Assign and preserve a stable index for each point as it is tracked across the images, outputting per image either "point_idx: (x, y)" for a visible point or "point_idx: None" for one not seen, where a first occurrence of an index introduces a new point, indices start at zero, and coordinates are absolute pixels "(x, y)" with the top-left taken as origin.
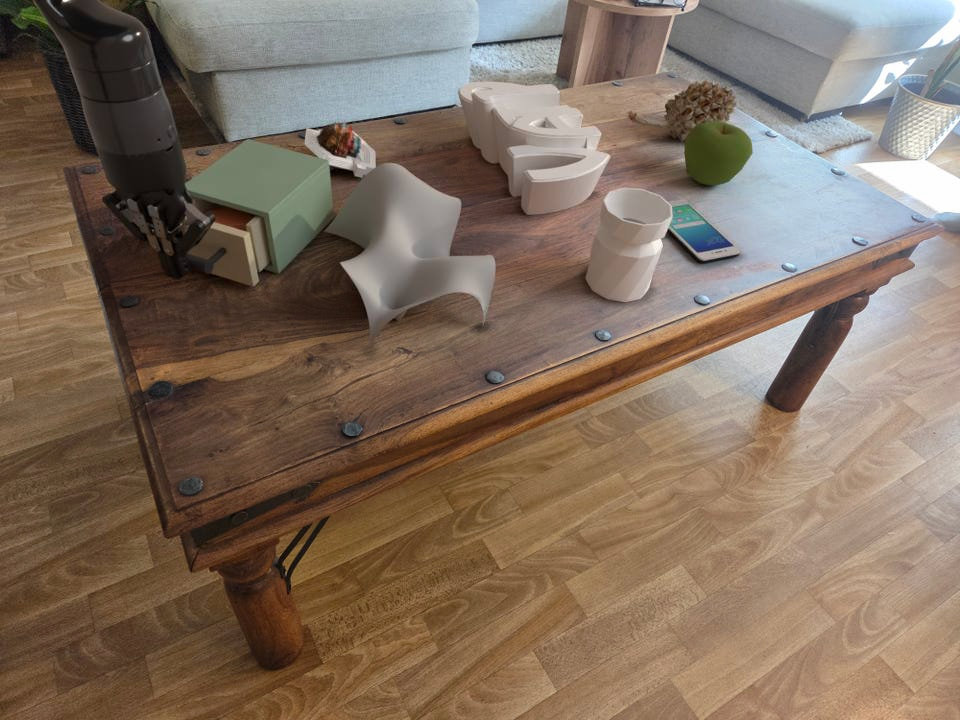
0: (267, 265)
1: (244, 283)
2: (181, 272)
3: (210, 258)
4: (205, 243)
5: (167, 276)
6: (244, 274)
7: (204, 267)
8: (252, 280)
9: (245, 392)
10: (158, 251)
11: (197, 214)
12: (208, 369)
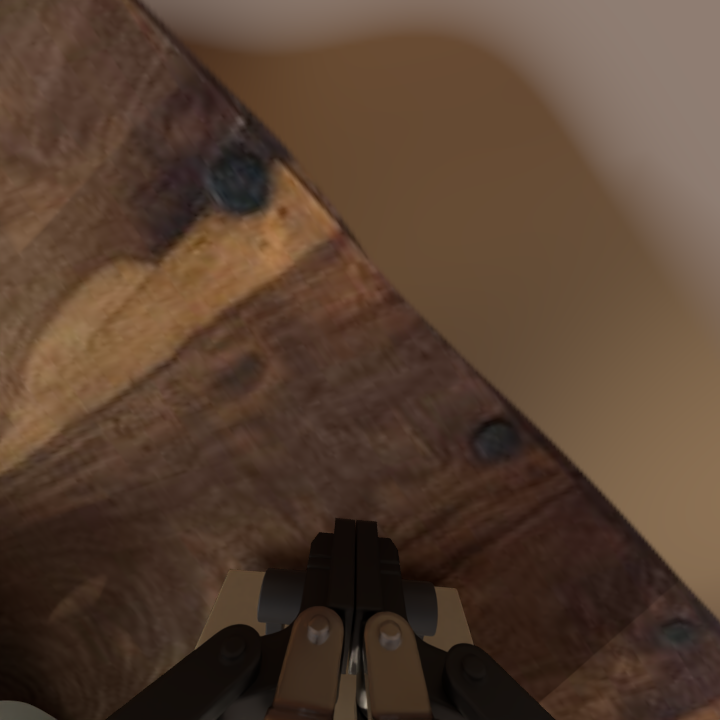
0: None
1: (254, 572)
2: (315, 546)
3: (277, 630)
4: (342, 681)
5: (373, 522)
6: (238, 598)
7: (261, 589)
8: (222, 585)
9: (40, 243)
10: (377, 614)
11: None
12: (175, 288)
